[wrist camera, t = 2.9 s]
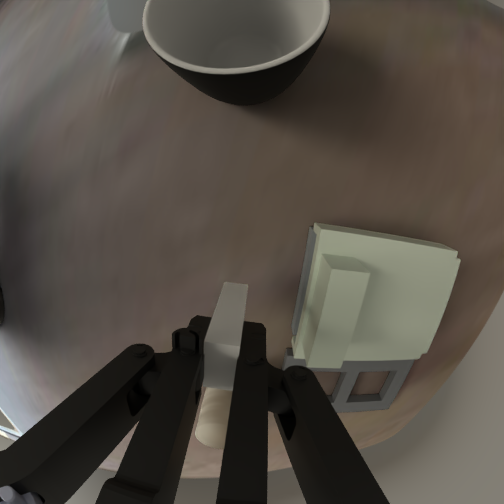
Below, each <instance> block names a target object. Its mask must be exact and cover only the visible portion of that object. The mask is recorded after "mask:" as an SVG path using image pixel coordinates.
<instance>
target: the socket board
mask: <svg viewBox="0 0 504 504" xmlns="http://www.w3.org/2000/svg"><path fill="white" fill-rule="evenodd" d="M414 360H415V359H409V360H383V361H343V363H342V366H341V368H310V367H307V365H306V360H305V359H296V358H294V355H293V349H292V348H286V352H285V356H284V361H283V365H282V369H281V370H284V371H285V369H286V368H288V367H289V366H293V365H300V366H304V367H307V368H308V369H310V370H311V371H321V372H341V374H340V377H339V379H338V382H337V384H336V387H335V389H334V392H333V394H332V395H326V396H327V397H328V399H329V401H330V402H331V404H332V406H333V408H334V409H335V411H336V413H338V412H359V411H373V410H383V409H389V407H390V405H391V404H392V402H393V400H394V399H395V397H396V395H397V393H398V391H399V390H400V388H401V386H402V384H403V382H404V380H405V378H406V376H407V375H408V373H409V371H410V369H411V367H412V364H413V362H414ZM377 371H390V373H389V375H388V377H387V379H386V381H385V383H384V385H383V387H382V389H381V391H380V393H379V394H367V395H350V393H351V390H352V388H353V386H354V384H355V381H356V379H357V377H358V375H359V372H377Z"/></svg>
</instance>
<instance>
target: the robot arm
mask: <svg viewBox="0 0 504 504" xmlns="http://www.w3.org/2000/svg"><path fill="white" fill-rule="evenodd" d="M247 292H248V285H247V284H239V283H231V282H224V285H223V287H222V290H221V293H220V296H219V299H218V302H217V305H216V308H215V311H214V313H213V316H212V318H211V317H205V316H198V315H197V316H195V317H194V318H193V319H191V321H190V323H189V326H188V327H187V328H181V329H178V330H175V331H174V332H173V333H172V347H173V349H172V351H171V352H167V353H154V350H153V348H152V347H150V346H149V345H146V344H134V345H131V346H129V347H128V348H126V349H125V350H124V351H123V352H122V353H120V354H119V355H118V356H117V357H116V358H114V359H113V360H112V361H111V362H110V363H108V364H107V365H106V366H105V367H104V368H102V369H101V370H100V371H99V372H98V373H96V374H95V375H94V376H93V377H92V378H90V379H89V380H88V381H87V382H86V383H84V384H83V385H82V386H81V387H80V388H78V389H77V390H76V391H75V392H74V393H72V394H71V395H70V396H69V397H68V398H66V399H65V400H64V401H63V402H62V403H60V404H59V405H58V406H57V407H56V408H54V409H53V410H52V411H51V412H50V413H48V414H47V415H46V416H45V417H44V418H43V419H41V420H40V421H39V422H38V423H37V424H35V425H34V426H33V427H32V428H31V429H29V430H28V431H27V432H26V433H25V434H24V435H22V436H21V437H20V438H19V439H18V440H16V441H15V442H14V443H13V444H12V445H11V446H10V447H8V448H7V449H6V450H3V451H0V504H64V503H65V502H67V501H68V500H69V499H70V498H71V496H72V495H73V494H74V493H75V492H76V491H77V490H78V489H79V488H80V487H81V486H82V485H83V483H84V482H85V481H86V480H87V479H88V478H89V477H90V476H91V475H92V473H93V472H94V471H95V470H96V469H97V468H98V467H99V466H100V464H101V463H102V462H103V461H104V460H105V459H106V458H107V457H108V455H109V454H110V453H111V452H112V451H113V450H114V449H115V447H116V446H117V445H118V444H119V443H120V442H121V441H122V439H123V438H124V437H125V436H126V435H127V434H128V432H129V431H130V430H131V429H132V428H133V427H134V425H135V424H136V423H137V422H138V421H139V423H138V425H137V427H136V429H135V432H134V434H133V436H132V438H131V441H130V443H129V445H128V448H127V450H126V452H125V455H124V457H123V459H122V462H121V464H120V466H119V469H118V471H117V474H116V475H115V477H114V478H110V479H108V480H107V481H106V482H105V483H104V485H103V487H102V489H101V491H100V493H99V496H98V498H97V501H96V503H95V504H174V500H175V496H176V492H177V488H178V484H179V480H180V476H181V472H182V468H183V464H184V460H185V456H186V452H187V448H188V444H189V440H190V436H191V432H192V428H193V424H194V420H195V417H196V413H197V409H198V405H199V401H200V397H201V387H202V383H203V387H209V388H215V389H222V390H229V391H232V398H231V405H230V411H229V418H228V425H227V432H226V438H225V445H224V452H223V459H222V466H221V472H220V479H219V487H218V493H217V500H216V504H267V468H268V411H270V412H273V413H274V417H275V420H276V423H277V426H278V429H279V431H280V434H281V437H282V440H283V442H284V445H285V448H286V451H287V453H288V456H289V459H290V461H291V464H292V467H293V469H294V472H295V474H296V477H297V479H298V482H299V485H300V488H301V490H302V493H303V495H304V498H305V500H306V503H307V504H390V503H389V502H388V500H387V498H386V497H385V495H384V493H383V492H382V490H381V488H380V487H379V485H378V483H377V481H376V480H375V478H374V476H373V475H372V473H371V471H370V470H369V468H368V466H367V464H366V463H365V461H364V459H363V457H362V456H361V454H360V452H359V451H358V449H357V447H356V446H355V444H354V442H353V440H352V439H351V437H350V435H349V434H348V432H347V430H346V428H345V427H344V425H343V423H342V421H341V420H340V418H339V416H338V415H337V413H336V411H335V409H334V408H333V406H332V404H331V402H330V401H329V399H328V397H327V396H326V394H325V392H324V390H323V389H322V387H321V385H320V383H319V382H318V380H317V378H316V376H315V375H314V373H313V372H312V371H311V370H310V369H308V368H307V367H304V366H300V365H293V366H289V367H288V368H286V369H285V371H284V370H281V369H278V368H275V367H273V366H272V365H271V364H269V363H268V361H267V359H266V328H265V327H264V325H263V324H262V323H255V322H246V321H244V317H245V309H246V300H247ZM3 318H4V304H3V297H2V292H1V288H0V325H1V323H2V321H3Z"/></svg>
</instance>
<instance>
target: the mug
mask: <svg viewBox="0 0 504 504" xmlns="http://www.w3.org/2000/svg"><path fill="white" fill-rule="evenodd" d="M329 18H330V1H329V0H148V1H147V3H146V5H145V8H144V12H143V20H142V21H143V30H144V34H145V37H146V39H147V41H148V43H149V45H150V46H151V48H152V49H153V51H154V52H155V53H156V54H157V55H158V56H159V57H160V58H161V59H162V60H163V62H164V63H166V64H167V65H168V66H169V67H170V68H171V69H172V70H173V71H175V72H176V73H177V74H178V75H179V76H181V77H182V78H183V79H184V80H186V81H187V82H188V83H190V84H191V85H193V86H194V87H196V88H197V89H198V90H200V91H202V92H203V93H205V94H207V95H209V96H210V97H212V98H215V99H217V100H219V101H222V102H225V103H229V104H234V105H253V104H258V103H262V102H265V101H268V100H270V99H272V98H274V97H276V96H277V95H279V94H280V93H282V92H283V91H284V90H285V89H287V88H288V87H289V86H290V85H291V84H292V83H293V82H294V81H295V79H296V78H297V77H298V76H299V75H300V73H301V72H302V71H303V69H304V68H305V67H306V65H307V64H308V62H309V61H310V59H311V58H312V56H313V54H314V53H315V51H316V49H317V48H318V46H319V44H320V42H321V40H322V38H323V36H324V34H325V31H326V28H327V25H328V22H329Z"/></svg>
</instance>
